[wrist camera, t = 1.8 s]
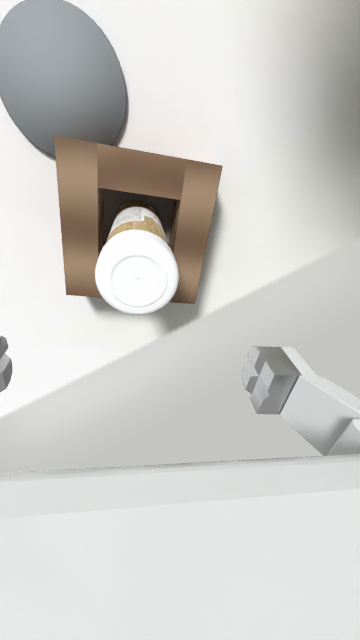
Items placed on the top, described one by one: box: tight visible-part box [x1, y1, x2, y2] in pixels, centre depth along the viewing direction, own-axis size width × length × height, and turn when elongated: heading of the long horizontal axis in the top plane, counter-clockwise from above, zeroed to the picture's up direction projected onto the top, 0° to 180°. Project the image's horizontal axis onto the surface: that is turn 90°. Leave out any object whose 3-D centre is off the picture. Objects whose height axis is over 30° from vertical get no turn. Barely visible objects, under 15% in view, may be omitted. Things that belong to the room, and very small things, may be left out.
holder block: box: [54, 135, 222, 304], centre depth 24 cm, size 12×12×4 cm
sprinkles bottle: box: [95, 201, 179, 315], centre depth 20 cm, size 5×5×13 cm
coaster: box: [0, 0, 126, 157], centre depth 19 cm, size 9×9×1 cm
